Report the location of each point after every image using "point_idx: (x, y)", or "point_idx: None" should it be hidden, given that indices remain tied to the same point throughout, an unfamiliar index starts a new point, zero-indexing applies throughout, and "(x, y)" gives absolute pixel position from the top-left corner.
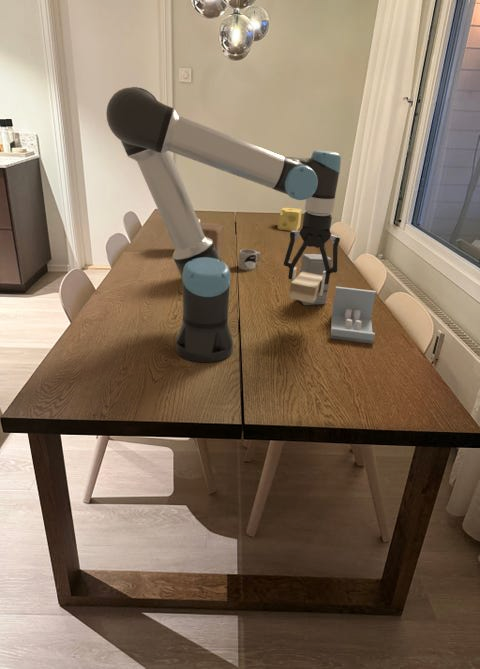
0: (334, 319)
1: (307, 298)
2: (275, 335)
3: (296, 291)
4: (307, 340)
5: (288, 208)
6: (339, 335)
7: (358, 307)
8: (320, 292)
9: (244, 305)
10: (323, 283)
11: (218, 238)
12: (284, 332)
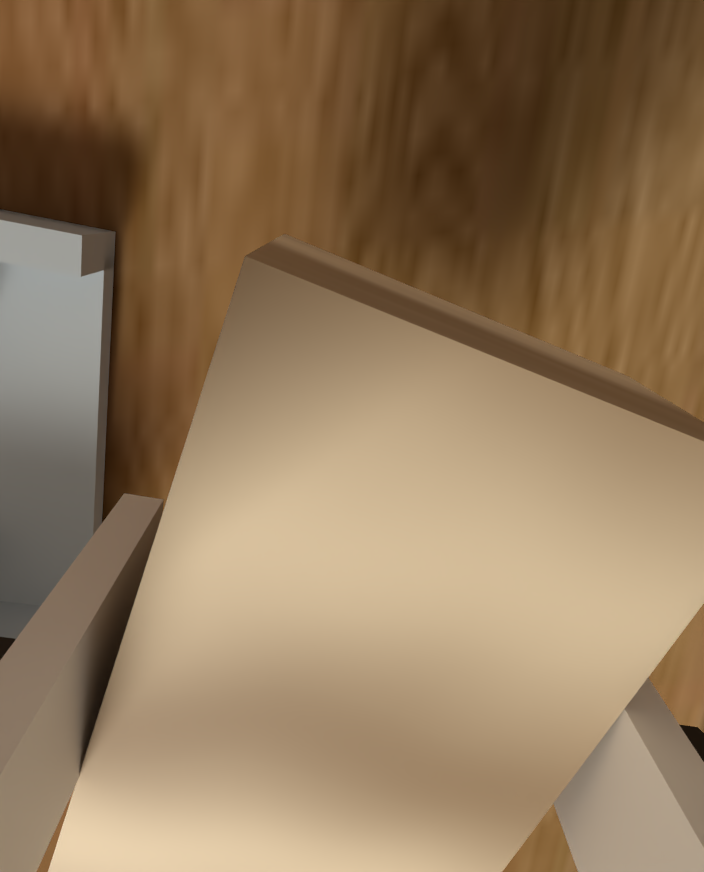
0: (70, 534)
1: (380, 279)
2: (570, 236)
3: (591, 374)
4: (317, 166)
5: None
6: (25, 217)
7: None
8: (143, 522)
9: (683, 688)
10: (47, 620)
11: None
12: (487, 302)
